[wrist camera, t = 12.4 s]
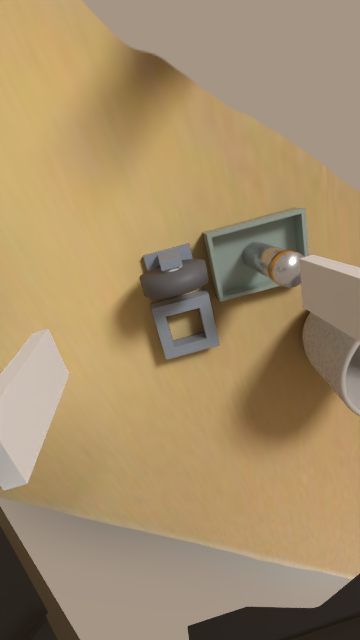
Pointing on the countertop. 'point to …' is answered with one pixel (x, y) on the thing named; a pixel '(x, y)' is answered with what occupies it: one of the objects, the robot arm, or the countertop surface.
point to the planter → (334, 359)
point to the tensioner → (173, 280)
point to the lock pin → (274, 263)
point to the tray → (232, 240)
